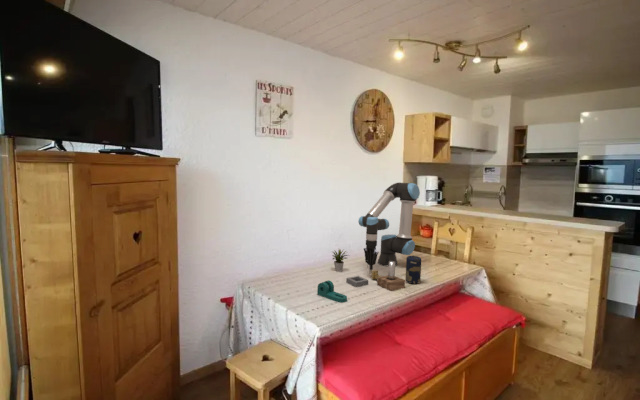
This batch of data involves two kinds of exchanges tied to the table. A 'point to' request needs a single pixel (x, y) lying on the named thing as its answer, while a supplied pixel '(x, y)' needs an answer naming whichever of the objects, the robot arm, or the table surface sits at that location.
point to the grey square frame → (357, 281)
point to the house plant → (339, 260)
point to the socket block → (391, 283)
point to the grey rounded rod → (391, 270)
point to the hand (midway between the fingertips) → (369, 273)
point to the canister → (413, 269)
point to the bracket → (330, 292)
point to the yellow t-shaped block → (375, 275)
